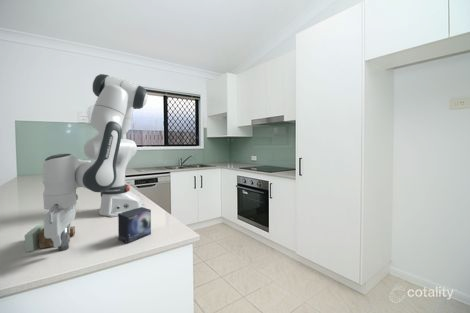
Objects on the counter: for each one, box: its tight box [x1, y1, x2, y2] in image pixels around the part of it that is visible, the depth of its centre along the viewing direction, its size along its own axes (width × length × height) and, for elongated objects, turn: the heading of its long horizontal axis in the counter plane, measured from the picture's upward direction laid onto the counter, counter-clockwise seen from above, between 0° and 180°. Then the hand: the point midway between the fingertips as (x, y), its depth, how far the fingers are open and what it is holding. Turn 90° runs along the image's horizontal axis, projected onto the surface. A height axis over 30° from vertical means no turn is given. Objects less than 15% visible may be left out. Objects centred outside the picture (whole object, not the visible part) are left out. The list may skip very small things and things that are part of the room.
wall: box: [24, 221, 44, 253], centre depth 80 cm, size 2×12×6 cm, turn 23°
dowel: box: [57, 226, 70, 252], centre depth 77 cm, size 3×3×8 cm
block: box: [39, 226, 76, 249], centre depth 83 cm, size 8×10×6 cm
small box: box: [117, 207, 152, 244], centre depth 87 cm, size 11×6×10 cm, turn 148°
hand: (62, 240), depth 77 cm, fingers open, 8 cm apart
